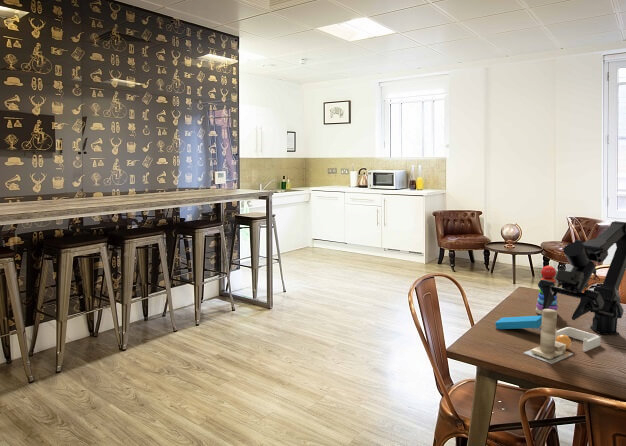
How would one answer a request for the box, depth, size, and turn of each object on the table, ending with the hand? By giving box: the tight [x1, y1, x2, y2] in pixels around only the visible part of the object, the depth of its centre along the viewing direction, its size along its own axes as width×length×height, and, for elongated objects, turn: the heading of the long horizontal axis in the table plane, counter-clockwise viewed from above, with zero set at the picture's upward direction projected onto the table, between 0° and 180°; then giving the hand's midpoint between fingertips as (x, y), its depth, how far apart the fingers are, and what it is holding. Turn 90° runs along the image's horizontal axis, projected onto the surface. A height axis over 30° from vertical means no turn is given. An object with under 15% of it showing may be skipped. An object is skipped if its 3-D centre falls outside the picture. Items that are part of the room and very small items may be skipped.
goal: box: [555, 326, 602, 352], centre depth 157 cm, size 9×11×4 cm
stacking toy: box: [535, 265, 559, 316], centre depth 185 cm, size 8×8×19 cm
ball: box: [556, 335, 572, 350], centre depth 153 cm, size 4×4×4 cm
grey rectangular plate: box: [523, 349, 574, 365], centre depth 149 cm, size 12×9×1 cm
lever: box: [494, 315, 542, 333], centre depth 167 cm, size 7×7×18 cm
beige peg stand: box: [530, 309, 567, 359], centre depth 148 cm, size 10×6×13 cm, turn 123°
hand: (557, 315), depth 149 cm, fingers open, 9 cm apart
